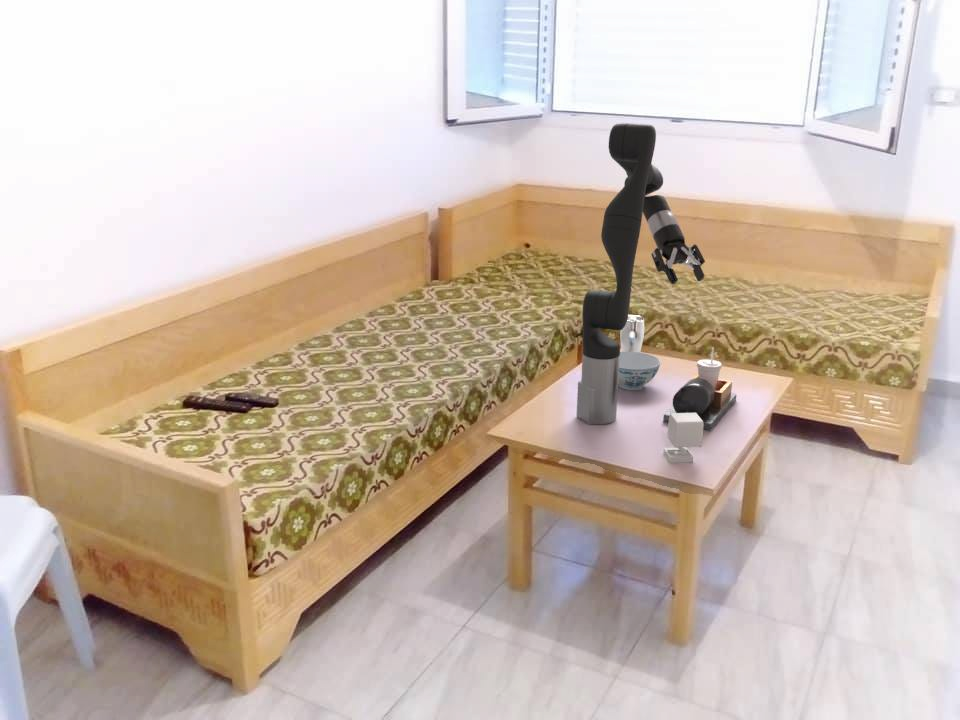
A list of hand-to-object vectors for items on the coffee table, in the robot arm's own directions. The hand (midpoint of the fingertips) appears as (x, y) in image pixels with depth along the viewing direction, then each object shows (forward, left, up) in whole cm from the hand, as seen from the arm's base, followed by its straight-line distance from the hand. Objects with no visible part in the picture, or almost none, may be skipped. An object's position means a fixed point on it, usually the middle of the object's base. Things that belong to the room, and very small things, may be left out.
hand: (688, 281), depth 240 cm
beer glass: (-2, +21, -31) cm, 38 cm away
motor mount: (-5, -16, -31) cm, 35 cm away
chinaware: (-11, +7, -31) cm, 34 cm away
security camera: (-27, -37, -31) cm, 55 cm away
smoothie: (-1, -13, -29) cm, 31 cm away
